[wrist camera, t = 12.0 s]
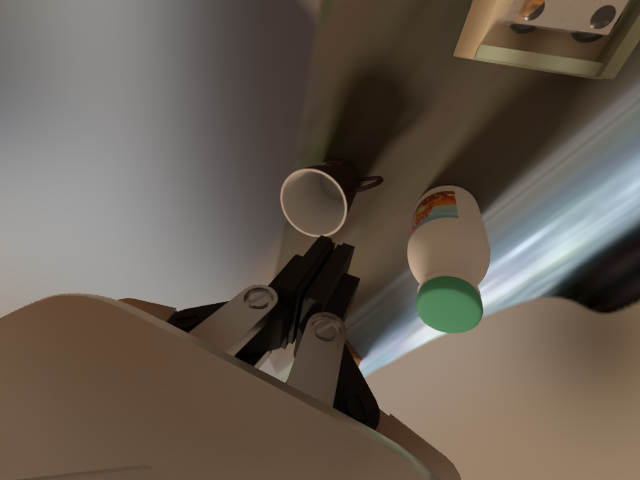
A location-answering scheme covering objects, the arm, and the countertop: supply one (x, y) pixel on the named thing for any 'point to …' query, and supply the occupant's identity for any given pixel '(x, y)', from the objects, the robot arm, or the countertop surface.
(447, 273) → the milk bottle
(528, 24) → the cart
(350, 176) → the coffee mug
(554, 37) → the dock
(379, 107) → the countertop surface
